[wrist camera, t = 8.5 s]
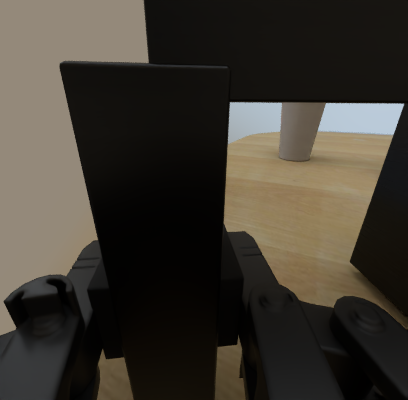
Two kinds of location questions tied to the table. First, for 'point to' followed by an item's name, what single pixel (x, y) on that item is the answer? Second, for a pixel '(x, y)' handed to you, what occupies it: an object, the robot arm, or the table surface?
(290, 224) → the table surface
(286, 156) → the coffee cup
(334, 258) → the table surface
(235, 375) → the table surface
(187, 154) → the fryer drawer
